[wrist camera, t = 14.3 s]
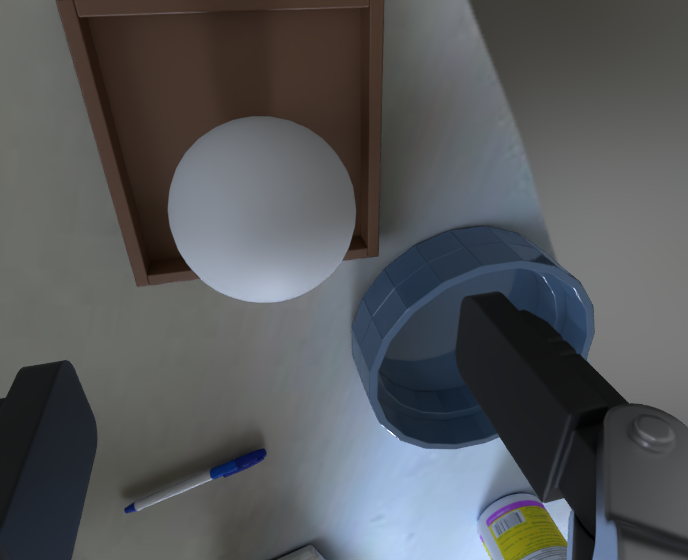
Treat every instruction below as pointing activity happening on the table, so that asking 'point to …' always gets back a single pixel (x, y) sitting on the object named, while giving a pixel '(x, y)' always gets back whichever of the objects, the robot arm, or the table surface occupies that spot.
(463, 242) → the bowl
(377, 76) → the tray
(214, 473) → the ballpoint pen
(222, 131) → the lightbulb
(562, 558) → the supplement bottle
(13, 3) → the table surface
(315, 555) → the packaged product
